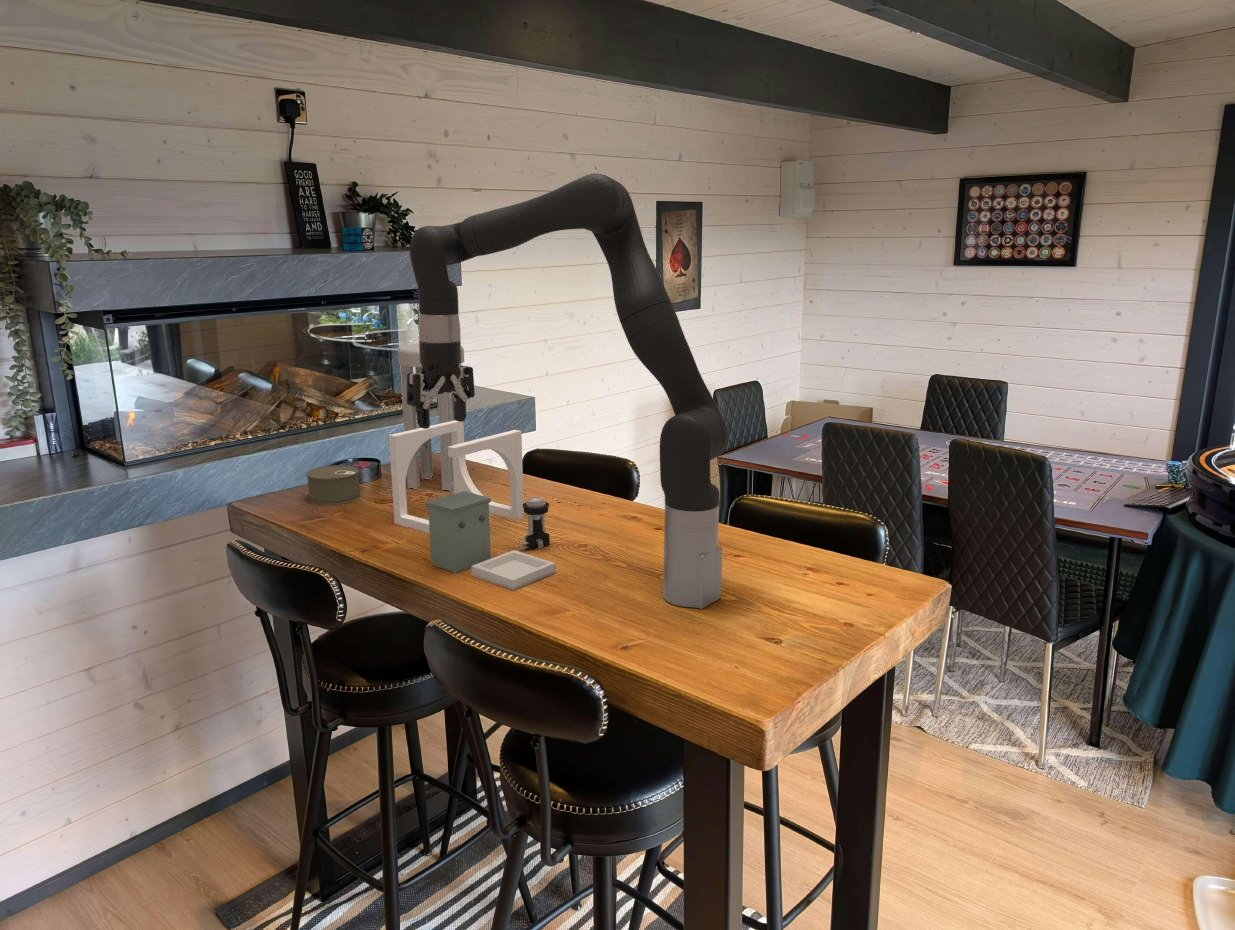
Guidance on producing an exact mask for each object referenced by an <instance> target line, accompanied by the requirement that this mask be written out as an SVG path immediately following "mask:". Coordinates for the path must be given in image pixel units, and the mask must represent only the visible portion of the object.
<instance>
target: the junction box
mask: <svg viewBox="0 0 1235 930" xmlns="http://www.w3.org/2000/svg"><path fill="white" fill-rule="evenodd" d="M491 501H492V498H491V497H489V496H485V495H483V496H481V495H478V494H474V493H470V492H466V491H462V492H459V493H455V494H454V493H451V494H449V495H445V496H442V497H438V498H435V499H431V500H427V501H425V507H427V508H428V509H427V510H428V520H429V532H430V533H429V547H430V564H432V565H431V566H434V565H435V567H437V568H440V569H443V570H445V571H448V572H451V573H454V574H457V573H459V572H461V571H465V570H467V569H470V568H472V566H473V565H475V564H478V563H481V562H483V561H486V560H489V559H492V555H491V552H492V551H491V527H490V513H489V503H490V502H491Z"/></svg>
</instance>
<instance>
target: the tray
mask: <svg viewBox="0 0 1235 930" xmlns="http://www.w3.org/2000/svg"><path fill="white" fill-rule="evenodd" d="M556 566H557V565H556V562H554V561H550V560H547V559H544V558H540V557H537V556H535V555H531V554H528V553H525V552H521V551H518V550H515V549H514V550H511V551H508V552H506V553H503V554H500V555H498V556H494V557H491V559H489V560H486V561H483V562H481V563H478V564H475V565H473V566H472V567H471V577H473V578H477V579H480V580H482V581H484V582H488V583H491V584H494V585H496V586H500V587H502V588H505V589H507V590H509V591H510V590H511V591H516V590H518V589H521V588H524V587H526V586H528V585H532V584H534V583H535V582H537V581H539V580H542V579H544V578H547V577H549V576H552V575H554V574H556V573H557V572H556V568H557V567H556Z"/></svg>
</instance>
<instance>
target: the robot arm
mask: <svg viewBox="0 0 1235 930" xmlns="http://www.w3.org/2000/svg"><path fill="white" fill-rule="evenodd" d="M633 202H634V201H633V200H632V198H631V195H630V193H629V191H628V190H627V188H626V187H625V186H624V185H623V184H622V183H621V182H619V181H618V180H616V179H615V178H611V177H610V176H608V175H606V174H602V173H590V174H585V175H583V176H581V177H579V178H577V179H575V180H573V181H570V182H568V183H566V184H564V185H562V186H560V187H558V188H556V189H554V190H552V191H548V192H547V193H545V194H541V195H539V196H536V197H533V198H531V199H528V200H525V201H522V202H518V203H514V204H511V205H508V206H504V207H500V208H496V209H491V210H488V211H484V212H482V213H481V212H480V213H478V214H474V215H471V216H468V217H467V218H464V219H463V221H459V222H456V223H455V222H454V223H451V224H447V225H424V226H421V227H418V229H417V230H416V231H415V232H414V233H413V234H412V237H411V240H410V245H409V257H410V263H411V266H412V271H413V275H414V278H415V279H414V280H415V282H416V285H417V288H418V304H419V305H418V307H419V320H418V344H419V352H420V363H421V365H422V371H421V373H419V374H416V372H415V373H414V372H413V373H408V374H407V404H408V405H411V406H414V407H415V410H416V424H417V425H418V428H419V427H420V428H424V429H427V428H429V427H430V426H431V423H430V424H429V409H430V408H429V409H427V408H428V406H429V407H430V404H431V402H432V401H433V400H434V399H435V398H436V396H438V395H437V394H442V393H444V392H447V393H449V392H450V395H451V394H452V396H453V397H454V399H455V400H456V401H455V402H454V418H455V420H456V421H459V422H463V421H464V422H465V421H466V418H467V402H468V400H469V399H470V398H475V394H476V393H475V381H474V378H475V377H474V368H473V367H472V366H469V365H461V367H460V368H459V364H460V363H461V346H462V345H461V344H462V341H461V338H462V337H461V322H460V313H459V290H458V286H457V285H456V283H455V282H453V281H451V280H450V278H449V271H448V267H449V266H452V265H456V264H459V263H462V262H466V261H468V260H471V259H474V258H476V257H481V256H487V255H492V254H495V253H500V252H503V251H507V250H510V249H513V248H517V247H519V246H521V245H524V244H525V243H527V242H529V241H531V240H534V239H535V238H537V237H540V236H544V235H547V234H549V233H554V232H558V231H559V232H560V231H567V230H586V231H589V232H591V233H592V234H593V237H594V238H595V239H596V242H597V243H598V245H599V247H600V250H601V251H602V254H603V256H604V258H605V260H606V262H607V264H608V268H609V272H610V276H611V284H612V292H613V300H614V305H615V311H616V314H617V317H618V320H619V323H620V324H621V328H622V331H623V332H624V335H625V337H626V340H627V342H628V344H629V346H630V348H631V350H632V351H633V353H634V355H635V357H637V359H638V360H639V361H640V363H641V364H643V366H644V367H645V368H646V369H647V370H648V371H649V372H650V374H652V376H653V377H654V378H655V379H656V381H657V382H658V384H660V386H661V387H662V388H663V390H664V392H665V394H666V396H667V398H668V400H669V402H670V403H669V404H670V405H671V408H672V411H673V414H674V416H671V417H670V418H668V420H666V422H665V424H664V425H663V426H662V429H661V432H660V438H659V470H660V471H659V474H660V476H659V477H660V486H661V488H662V491H663V494H664V528H663V529H664V531H663V532H664V537H663V538H664V539H663V585H662V586H663V590H662V591H663V594H662V596H663V599H664V601H666V602H668V603H670V604H671V605H674V606H676V607H677V606H678V607H685V608H696V609H697V608H698V609H704V608H706V607H707V606H709V605H711V604H713V603H714V602H715V603H716V602H717V601H719V599H721V597H722V596H721V595H722V574H723V573H722V572H723V571H722V570H723V569H722V568H723V546H720V545H719V544H718V543H719V540H718V539H719V519H720V517H719V513H720V512H719V511H720V490H719V488H718V487H717V485H715V484H713V483H711V482H712V480H711V461H713V460H715V459H717V458H718V457H719V456H721V455H722V454H723V453H724V451H725V450H726V448H727V445H728V442H729V441H728V440H729V431H728V427H727V424H726V421H725V419H724V417H723V415H722V413H721V411H720V409H719V408H718V407H719V406H718V405H717V403H716V402H715V400H714V398H713V396H712V394H711V392H710V390H709V389H708V387H707V385H706V383H705V381H704V379H703V377H702V375H701V373H700V370H699V368H698V366H697V362H696V360H695V358H694V356H693V353H692V351H691V348H690V346H689V343H688V340H687V339H686V336H685V334H684V331H683V328H682V326H681V323H680V320H679V317H678V315H677V312H676V310H675V307H674V305H673V302H672V300H671V298H670V296H669V294H668V291H667V289H666V287H665V284H664V283H663V281H662V279H661V277H660V274H659V272H658V270H657V267H656V266H655V264H654V262H653V259H652V258H651V256H650V253H649V251H648V249H647V246H646V243H645V241H644V240H645V239H644V237H643V234H642V231H641V230H642V229H641V228H640V224H639V221H638V216H637V213H636V210H635V206H634V203H633ZM447 266H448V267H447ZM461 364H462V363H461ZM459 377H460V378H461V385H460V383H459V382H458V379H459ZM422 381H423V382H422ZM422 383H423V385H422V387H421V384H422ZM428 390H429V392H427V391H428Z"/></svg>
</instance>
